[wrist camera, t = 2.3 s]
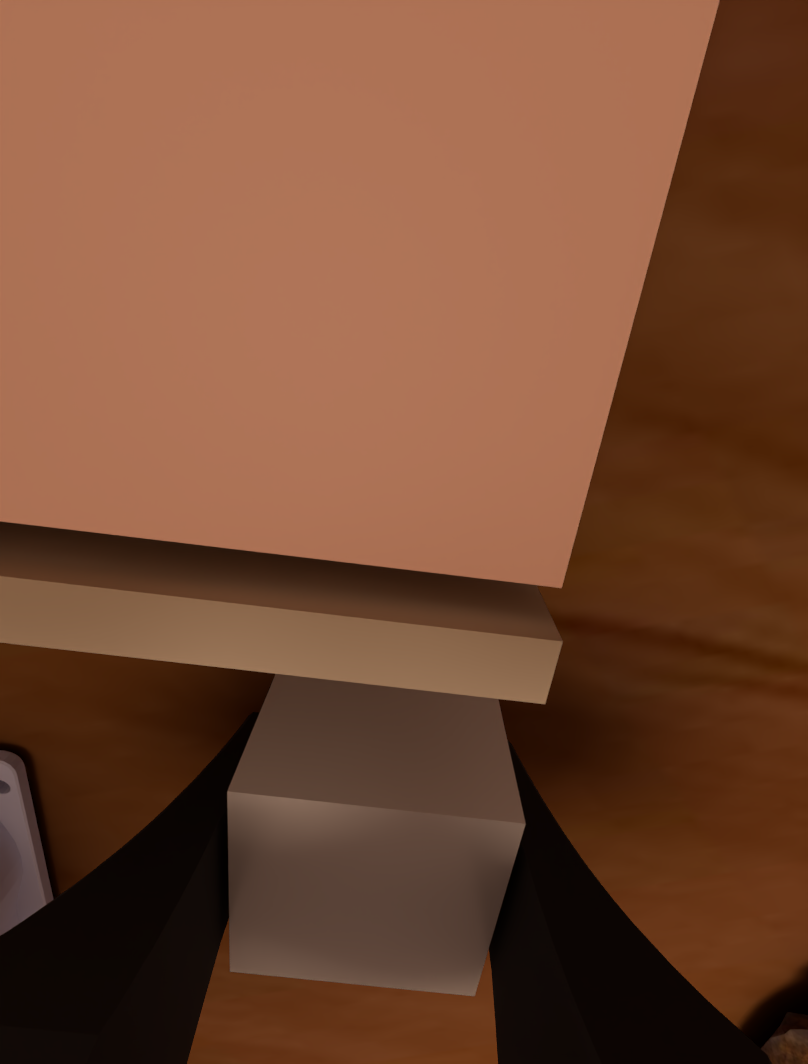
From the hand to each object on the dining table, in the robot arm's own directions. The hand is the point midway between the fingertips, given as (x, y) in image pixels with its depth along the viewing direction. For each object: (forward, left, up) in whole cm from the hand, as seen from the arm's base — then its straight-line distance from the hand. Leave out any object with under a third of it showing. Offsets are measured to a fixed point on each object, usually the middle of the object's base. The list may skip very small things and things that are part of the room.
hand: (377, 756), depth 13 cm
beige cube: (0, 0, -2) cm, 2 cm away
